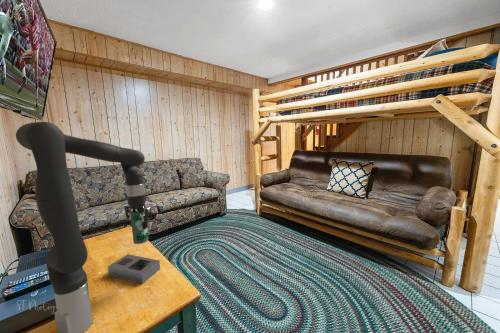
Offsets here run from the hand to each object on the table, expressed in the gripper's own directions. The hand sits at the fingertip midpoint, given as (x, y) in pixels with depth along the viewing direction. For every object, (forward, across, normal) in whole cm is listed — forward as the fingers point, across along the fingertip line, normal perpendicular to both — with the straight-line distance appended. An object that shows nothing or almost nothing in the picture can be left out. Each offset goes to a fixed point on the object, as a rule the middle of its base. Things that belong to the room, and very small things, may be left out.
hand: (139, 227), depth 99 cm
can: (+7, 0, 0) cm, 7 cm away
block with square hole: (+28, -11, +4) cm, 30 cm away
